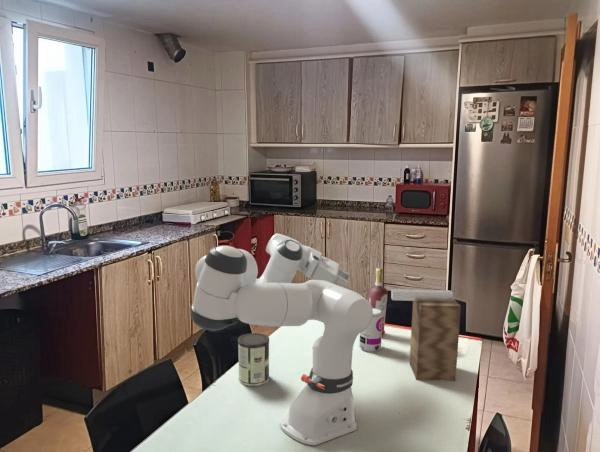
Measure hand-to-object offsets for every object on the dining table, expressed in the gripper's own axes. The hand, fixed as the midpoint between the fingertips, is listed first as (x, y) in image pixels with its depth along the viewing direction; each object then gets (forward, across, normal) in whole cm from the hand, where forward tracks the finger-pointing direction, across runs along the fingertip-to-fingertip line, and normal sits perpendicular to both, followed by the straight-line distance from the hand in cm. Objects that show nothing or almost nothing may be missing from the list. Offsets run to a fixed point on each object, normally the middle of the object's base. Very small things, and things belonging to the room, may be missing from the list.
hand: (348, 280), depth 169 cm
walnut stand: (+40, -3, -16) cm, 43 cm away
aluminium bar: (+25, -2, +5) cm, 25 cm away
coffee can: (-14, +11, -42) cm, 46 cm away
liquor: (+24, -34, -23) cm, 48 cm away
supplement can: (+21, -20, -25) cm, 38 cm away
